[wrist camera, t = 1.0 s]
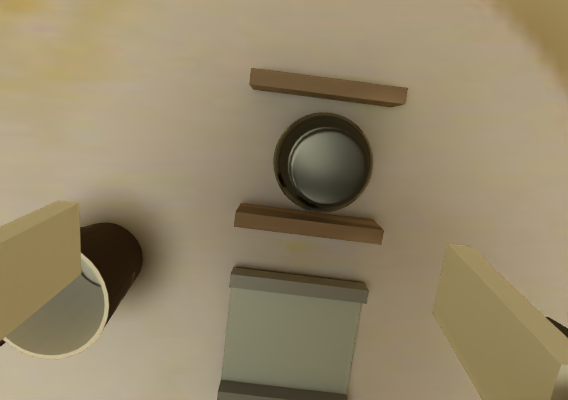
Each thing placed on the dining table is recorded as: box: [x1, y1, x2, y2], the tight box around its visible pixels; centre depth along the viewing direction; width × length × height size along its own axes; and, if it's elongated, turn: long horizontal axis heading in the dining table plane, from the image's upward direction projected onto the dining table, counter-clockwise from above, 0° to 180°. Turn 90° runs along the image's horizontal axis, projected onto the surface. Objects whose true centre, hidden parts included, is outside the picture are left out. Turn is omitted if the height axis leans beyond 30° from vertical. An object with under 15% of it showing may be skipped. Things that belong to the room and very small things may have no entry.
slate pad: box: [217, 267, 368, 400], centre depth 38 cm, size 12×12×2 cm
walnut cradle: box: [234, 68, 408, 245], centre depth 34 cm, size 12×12×4 cm
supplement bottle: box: [274, 113, 373, 212], centre depth 31 cm, size 7×7×12 cm
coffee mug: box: [0, 223, 142, 359], centre depth 33 cm, size 12×9×10 cm
